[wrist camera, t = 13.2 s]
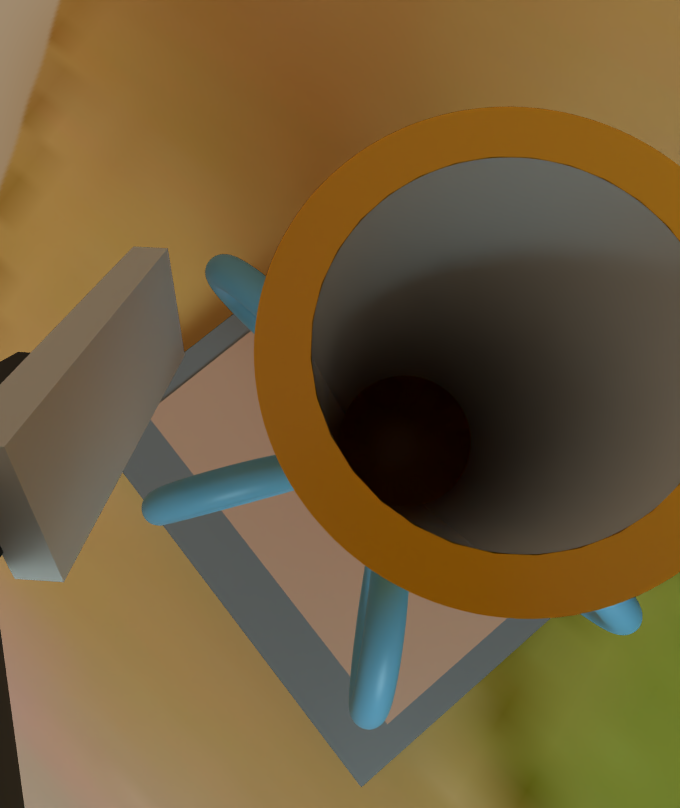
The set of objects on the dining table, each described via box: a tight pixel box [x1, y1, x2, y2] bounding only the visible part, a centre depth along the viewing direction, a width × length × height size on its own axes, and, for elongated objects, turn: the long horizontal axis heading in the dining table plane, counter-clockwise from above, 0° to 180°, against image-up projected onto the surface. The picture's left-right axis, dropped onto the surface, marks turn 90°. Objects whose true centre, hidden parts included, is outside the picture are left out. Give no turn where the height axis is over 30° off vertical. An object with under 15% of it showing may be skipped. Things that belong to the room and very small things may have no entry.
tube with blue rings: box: [142, 107, 680, 730], centre depth 12 cm, size 12×10×15 cm
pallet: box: [123, 314, 550, 787], centre depth 21 cm, size 16×16×1 cm
